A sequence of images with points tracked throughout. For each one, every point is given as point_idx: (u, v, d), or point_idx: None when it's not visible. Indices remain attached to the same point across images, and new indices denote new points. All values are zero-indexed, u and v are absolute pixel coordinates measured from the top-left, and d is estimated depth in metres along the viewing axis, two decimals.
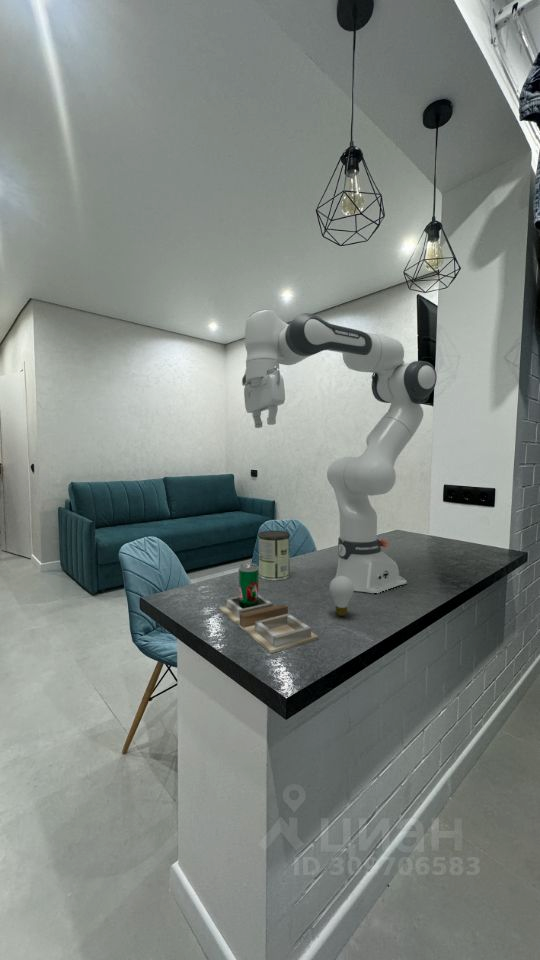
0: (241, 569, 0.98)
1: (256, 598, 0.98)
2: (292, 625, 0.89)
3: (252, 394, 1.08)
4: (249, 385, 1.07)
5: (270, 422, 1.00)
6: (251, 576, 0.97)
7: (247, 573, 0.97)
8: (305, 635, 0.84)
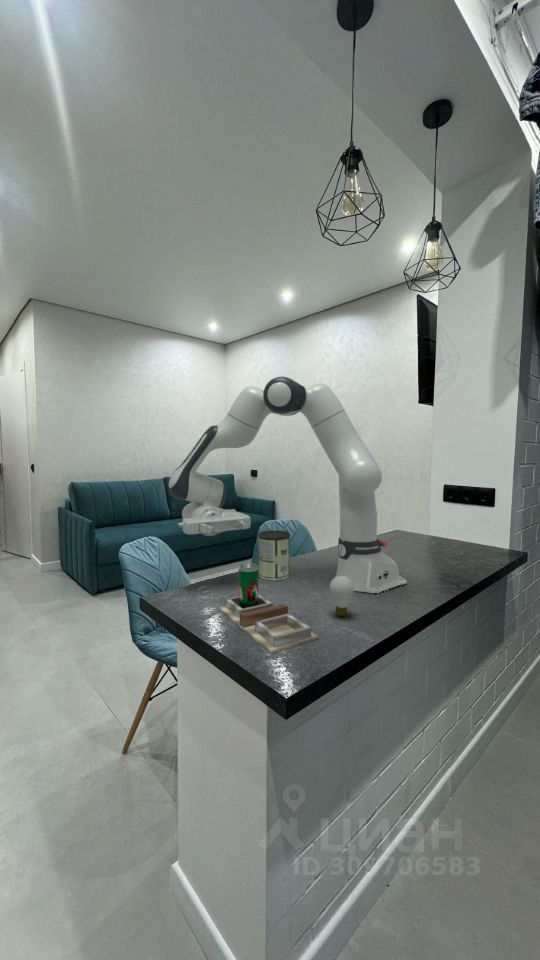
0: (241, 569, 0.98)
1: (256, 598, 0.98)
2: (292, 625, 0.89)
3: None
4: None
5: (209, 532, 1.07)
6: (251, 576, 0.97)
7: (247, 573, 0.97)
8: (305, 635, 0.84)
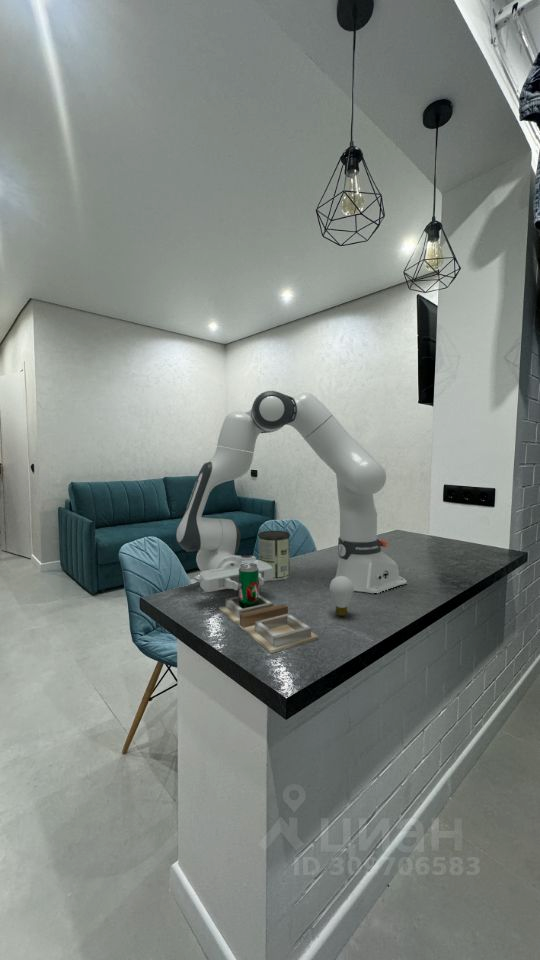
0: (241, 569, 0.98)
1: (256, 598, 0.98)
2: (292, 625, 0.89)
3: None
4: None
5: (235, 589, 0.97)
6: (251, 576, 0.97)
7: (248, 573, 0.97)
8: (305, 635, 0.84)
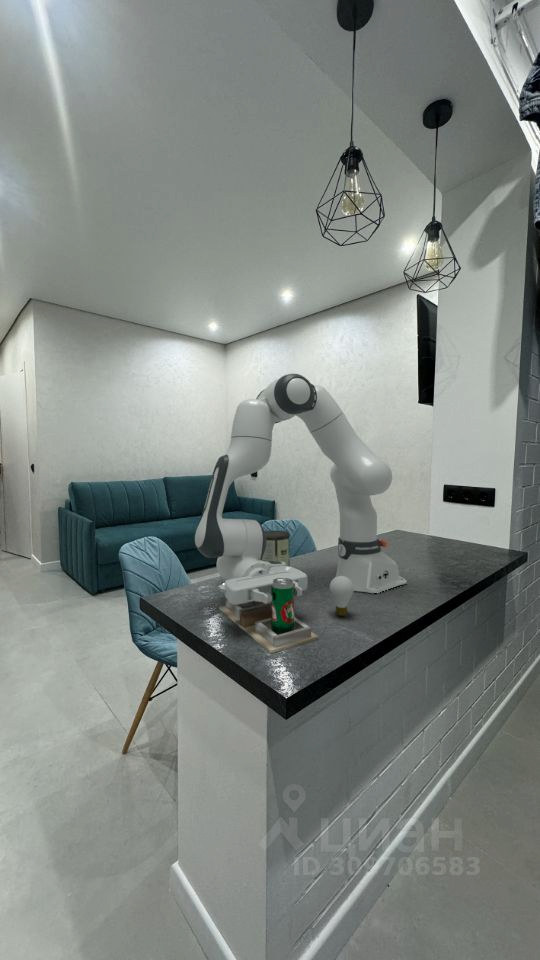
0: (275, 585, 0.84)
1: (292, 619, 0.85)
2: None
3: None
4: None
5: (265, 602, 0.83)
6: (287, 594, 0.83)
7: (283, 590, 0.83)
8: (305, 635, 0.84)
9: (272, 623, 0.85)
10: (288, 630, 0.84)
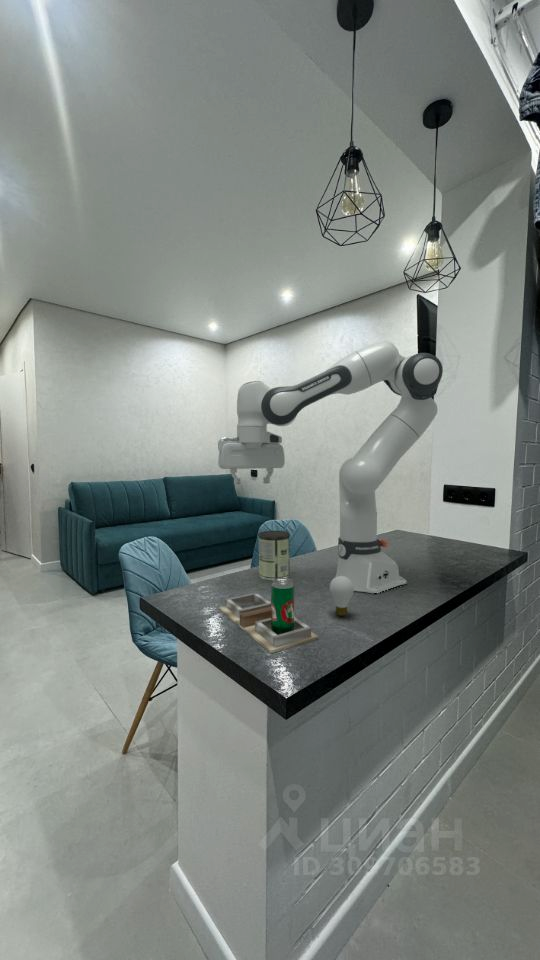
0: (275, 585, 0.84)
1: (292, 619, 0.85)
2: None
3: None
4: None
5: (234, 482, 1.16)
6: (287, 594, 0.83)
7: (283, 590, 0.83)
8: (305, 635, 0.84)
9: (272, 623, 0.85)
10: (288, 630, 0.84)
